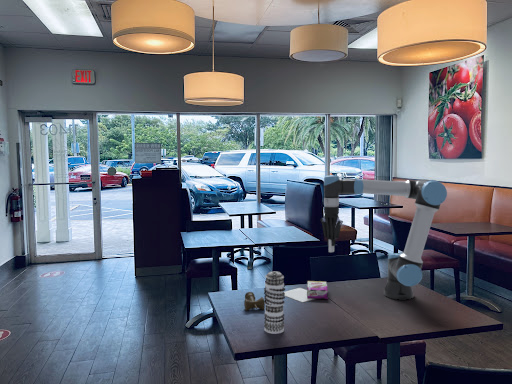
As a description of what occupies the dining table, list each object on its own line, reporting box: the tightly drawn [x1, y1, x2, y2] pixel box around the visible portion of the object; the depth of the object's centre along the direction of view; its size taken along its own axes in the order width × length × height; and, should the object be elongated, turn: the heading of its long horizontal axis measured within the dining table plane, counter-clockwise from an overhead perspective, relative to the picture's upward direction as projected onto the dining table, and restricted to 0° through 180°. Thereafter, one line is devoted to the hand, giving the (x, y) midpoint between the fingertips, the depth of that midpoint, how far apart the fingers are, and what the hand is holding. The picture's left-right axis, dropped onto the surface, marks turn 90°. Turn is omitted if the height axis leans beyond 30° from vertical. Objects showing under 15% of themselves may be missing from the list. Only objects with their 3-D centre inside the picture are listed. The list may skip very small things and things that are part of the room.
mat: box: [283, 287, 314, 303], centre depth 224 cm, size 18×16×1 cm
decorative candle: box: [263, 271, 286, 335], centre depth 177 cm, size 9×9×25 cm
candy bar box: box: [306, 280, 329, 300], centre depth 224 cm, size 11×5×16 cm
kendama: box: [243, 291, 266, 312], centre depth 205 cm, size 6×10×20 cm
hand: (331, 251), depth 211 cm, fingers closed
